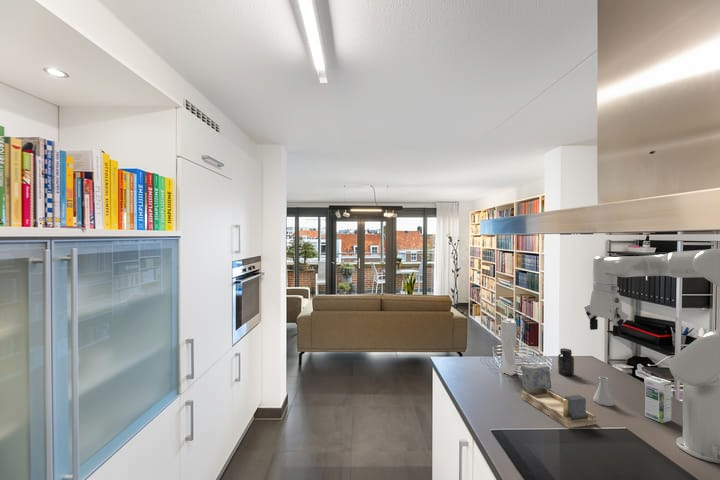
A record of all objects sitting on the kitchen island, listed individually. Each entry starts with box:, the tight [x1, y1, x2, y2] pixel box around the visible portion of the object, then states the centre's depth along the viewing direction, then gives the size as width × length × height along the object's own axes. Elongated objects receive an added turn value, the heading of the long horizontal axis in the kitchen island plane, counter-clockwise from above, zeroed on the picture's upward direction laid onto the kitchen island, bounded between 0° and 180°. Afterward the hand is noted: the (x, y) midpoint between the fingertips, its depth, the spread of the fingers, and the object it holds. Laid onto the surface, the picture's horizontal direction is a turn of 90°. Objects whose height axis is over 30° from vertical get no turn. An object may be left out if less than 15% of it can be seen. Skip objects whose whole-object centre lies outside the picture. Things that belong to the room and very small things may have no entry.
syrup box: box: [644, 375, 672, 424], centre depth 129 cm, size 6×6×14 cm
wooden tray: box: [520, 385, 597, 429], centre depth 135 cm, size 24×12×9 cm, turn 14°
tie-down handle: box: [564, 394, 588, 420], centre depth 126 cm, size 3×8×7 cm, turn 104°
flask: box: [592, 376, 615, 407], centre depth 141 cm, size 7×7×10 cm
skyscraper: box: [500, 315, 518, 376], centre depth 173 cm, size 8×8×28 cm
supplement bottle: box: [557, 348, 575, 377], centre depth 172 cm, size 7×7×12 cm
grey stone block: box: [520, 362, 552, 390], centre depth 155 cm, size 10×8×10 cm
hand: (605, 332), depth 134 cm, fingers open, 9 cm apart
